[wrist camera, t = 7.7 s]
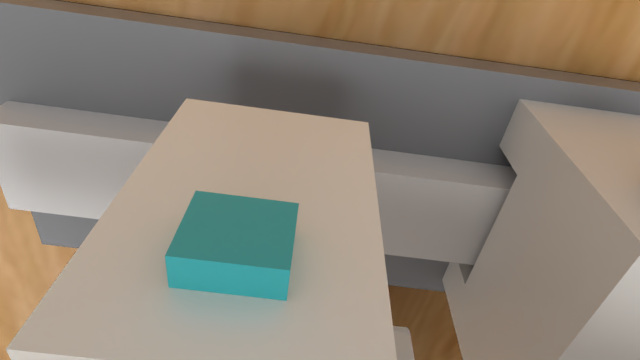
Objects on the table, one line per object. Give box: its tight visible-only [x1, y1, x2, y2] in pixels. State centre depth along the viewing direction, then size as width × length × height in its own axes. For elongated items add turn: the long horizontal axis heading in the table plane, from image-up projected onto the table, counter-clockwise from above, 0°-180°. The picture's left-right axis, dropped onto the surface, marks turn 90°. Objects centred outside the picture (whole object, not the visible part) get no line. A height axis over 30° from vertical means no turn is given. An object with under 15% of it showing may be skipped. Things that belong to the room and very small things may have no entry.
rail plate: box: [0, 0, 640, 292], centre depth 15 cm, size 22×10×2 cm, turn 83°
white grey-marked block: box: [442, 99, 640, 360], centre depth 13 cm, size 4×9×7 cm, turn 173°
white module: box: [6, 98, 397, 360], centre depth 10 cm, size 4×9×7 cm, turn 173°
